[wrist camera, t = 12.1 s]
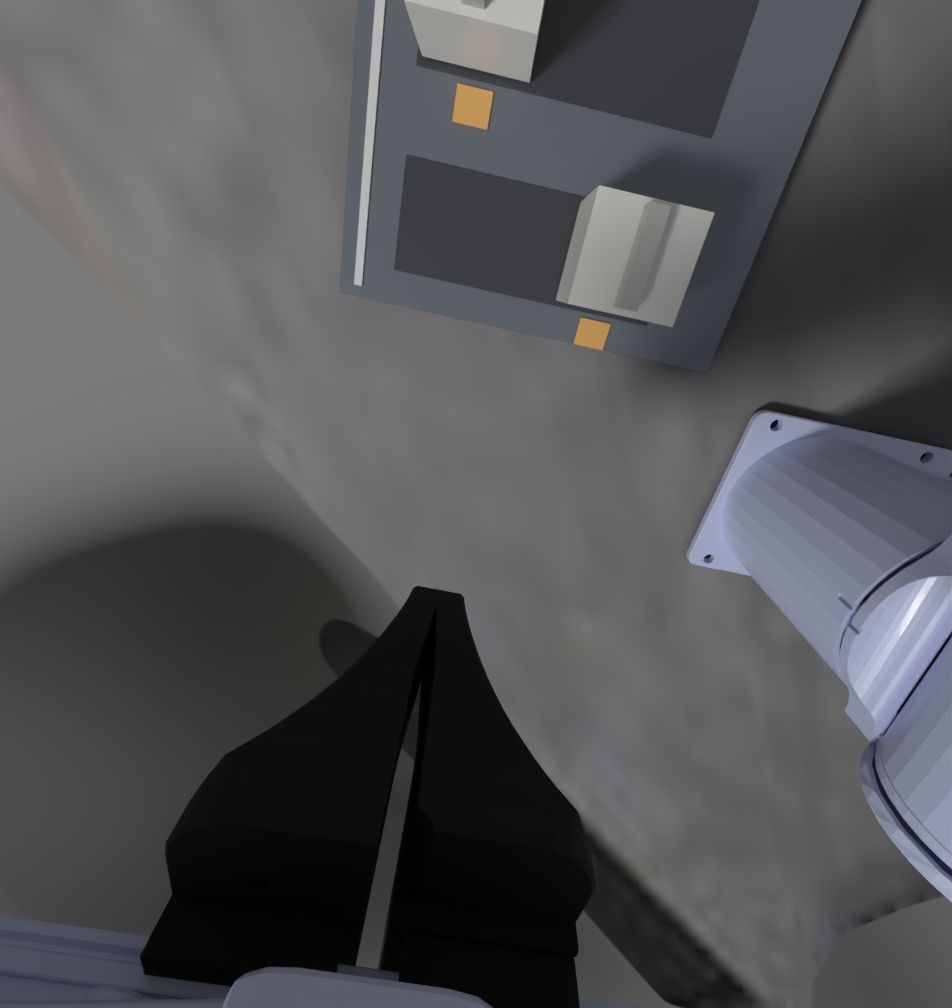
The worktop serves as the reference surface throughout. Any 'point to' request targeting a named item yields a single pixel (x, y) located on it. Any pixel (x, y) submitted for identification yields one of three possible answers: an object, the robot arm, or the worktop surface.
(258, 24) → the worktop surface
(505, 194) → the switch bank
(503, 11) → the tab
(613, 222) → the light grey block
